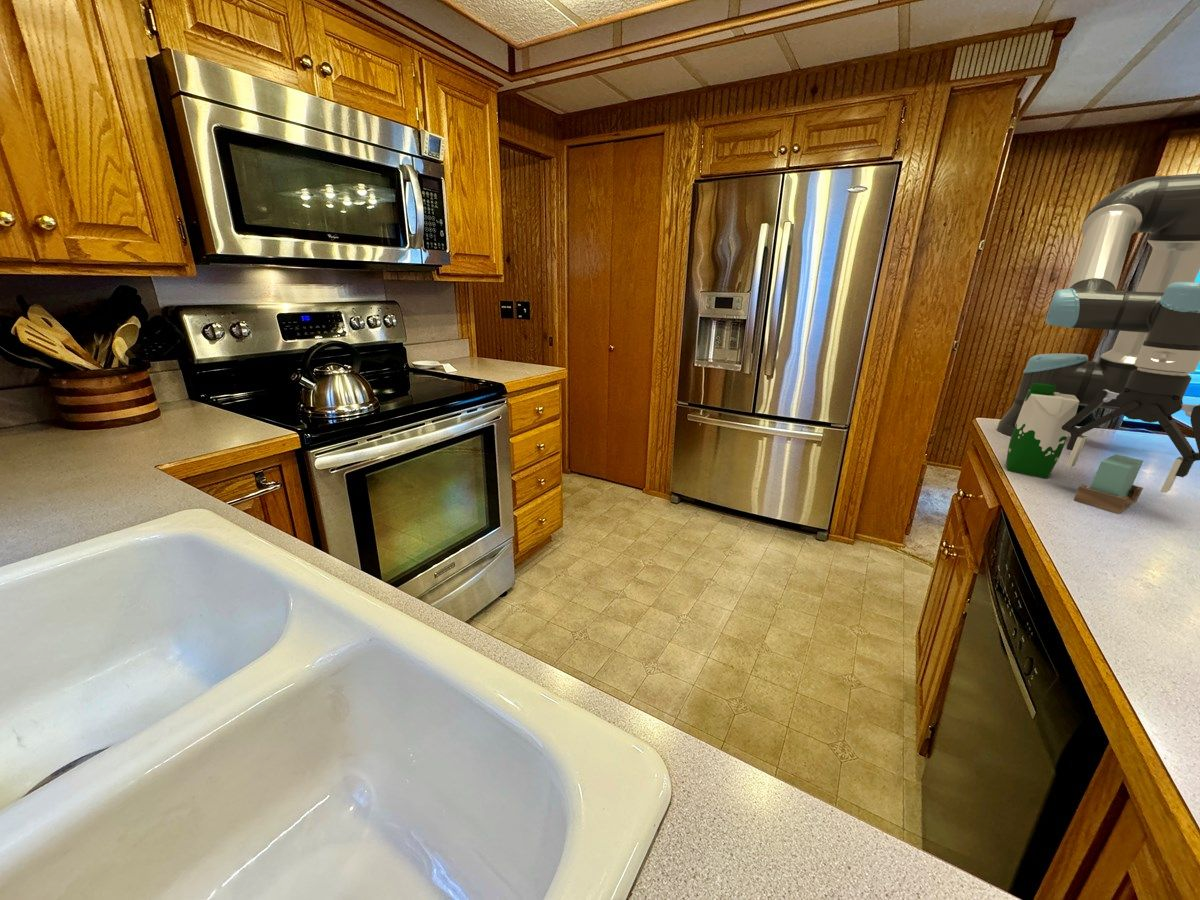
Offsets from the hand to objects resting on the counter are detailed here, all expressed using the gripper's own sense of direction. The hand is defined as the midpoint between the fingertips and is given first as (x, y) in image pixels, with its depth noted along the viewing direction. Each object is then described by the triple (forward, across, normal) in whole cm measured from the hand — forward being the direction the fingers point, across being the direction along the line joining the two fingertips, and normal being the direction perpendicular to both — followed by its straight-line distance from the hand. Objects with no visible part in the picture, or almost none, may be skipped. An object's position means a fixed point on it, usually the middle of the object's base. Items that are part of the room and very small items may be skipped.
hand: (1115, 477), depth 95 cm
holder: (+5, 0, 0) cm, 5 cm away
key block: (+4, 0, 0) cm, 4 cm away
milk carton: (+5, -15, +6) cm, 17 cm away
